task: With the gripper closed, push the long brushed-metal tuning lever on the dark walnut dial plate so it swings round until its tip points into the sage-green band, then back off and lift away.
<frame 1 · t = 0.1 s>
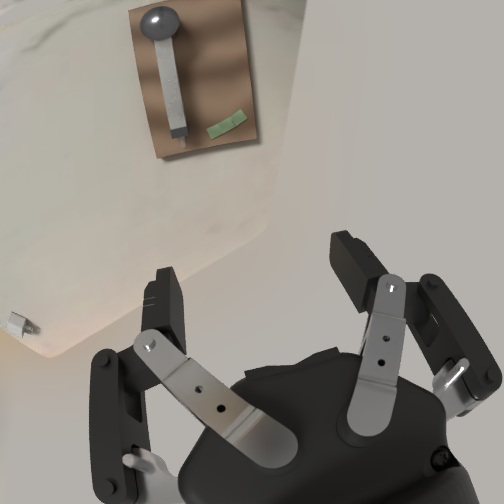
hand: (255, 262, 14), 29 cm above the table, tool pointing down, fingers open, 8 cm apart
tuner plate: (193, 70, 31), on the table
tuning lever: (168, 71, 27), point 4 cm above the table, hinge at 0.0°
usb wall charger: (23, 319, 50), on the table
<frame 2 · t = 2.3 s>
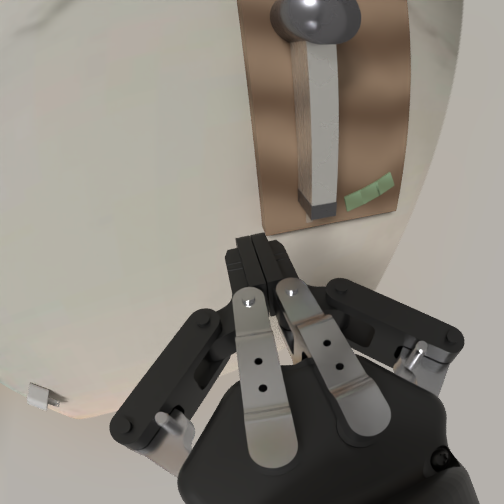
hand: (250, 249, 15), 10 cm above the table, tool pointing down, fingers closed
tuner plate: (334, 102, 20), on the table
tuning lever: (319, 103, 16), point 4 cm above the table, hinge at 0.0°
usb wall charger: (45, 389, 40), on the table
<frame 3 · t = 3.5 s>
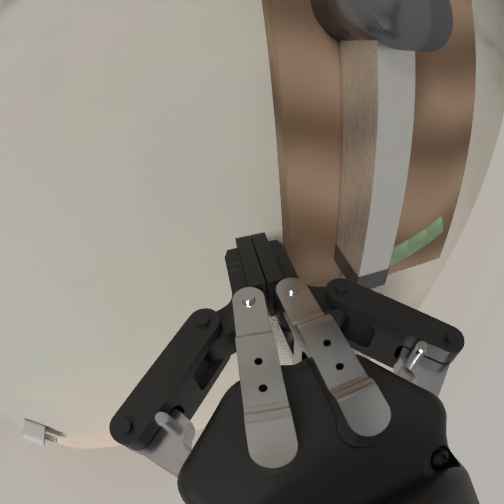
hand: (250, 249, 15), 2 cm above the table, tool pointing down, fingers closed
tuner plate: (386, 127, 14), on the table
tuning lever: (383, 138, 11), point 4 cm above the table, hinge at 0.0°
usb wall charger: (41, 424, 34), on the table
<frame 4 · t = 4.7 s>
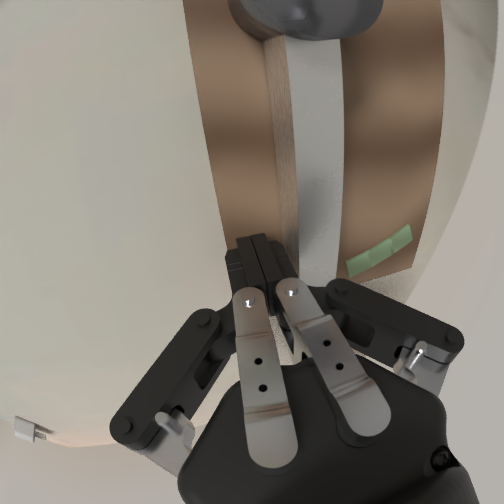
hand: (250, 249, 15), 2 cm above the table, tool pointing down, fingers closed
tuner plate: (335, 130, 14), on the table
tuning lever: (311, 143, 11), point 4 cm above the table, hinge at 0.5°, touching gripper
usb wall charger: (31, 422, 34), on the table
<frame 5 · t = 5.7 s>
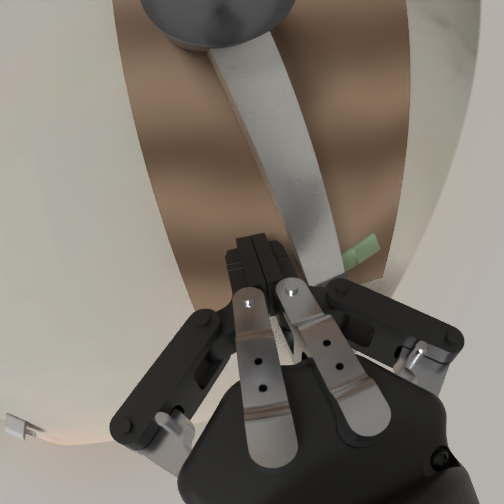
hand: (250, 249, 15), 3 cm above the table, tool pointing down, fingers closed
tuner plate: (284, 136, 14), on the table
tuning lever: (279, 143, 10), point 4 cm above the table, hinge at 15.4°, touching gripper
usb wall charger: (22, 419, 33), on the table
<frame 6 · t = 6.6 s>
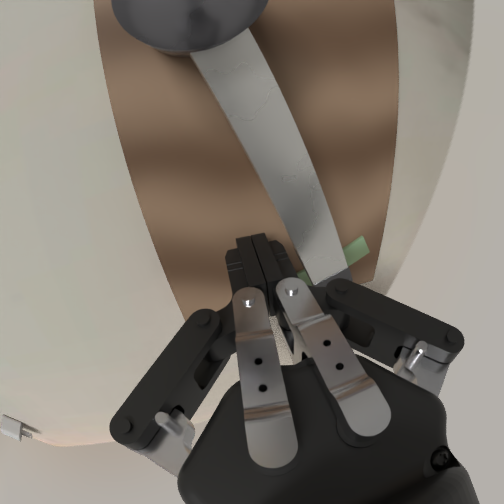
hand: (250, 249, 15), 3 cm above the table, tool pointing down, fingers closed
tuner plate: (269, 138, 14), on the table
tuning lever: (270, 141, 10), point 4 cm above the table, hinge at 19.7°
usb wall charger: (18, 421, 33), on the table
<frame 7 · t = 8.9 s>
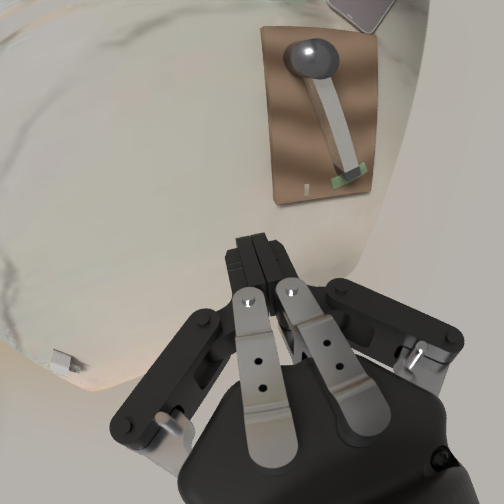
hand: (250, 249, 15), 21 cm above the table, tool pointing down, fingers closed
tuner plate: (323, 113, 31), on the table
tuning lever: (330, 111, 27), point 4 cm above the table, hinge at 19.7°
usb wall charger: (67, 357, 48), on the table
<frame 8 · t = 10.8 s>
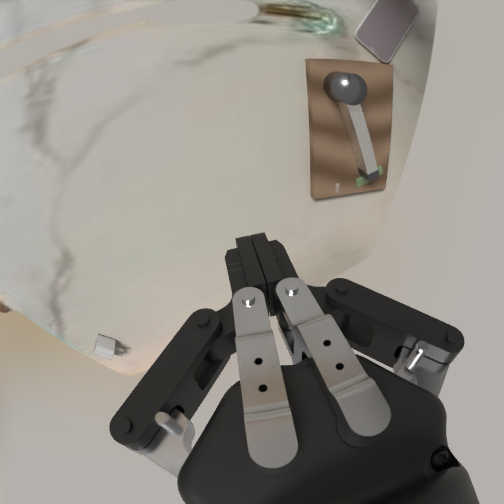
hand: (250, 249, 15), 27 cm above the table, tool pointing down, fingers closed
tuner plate: (350, 127, 39), on the table
tuning lever: (358, 127, 35), point 4 cm above the table, hinge at 19.7°
smartphone: (386, 20, 28), on the table
usb wall charger: (110, 341, 58), on the table
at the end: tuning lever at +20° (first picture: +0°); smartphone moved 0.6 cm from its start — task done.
